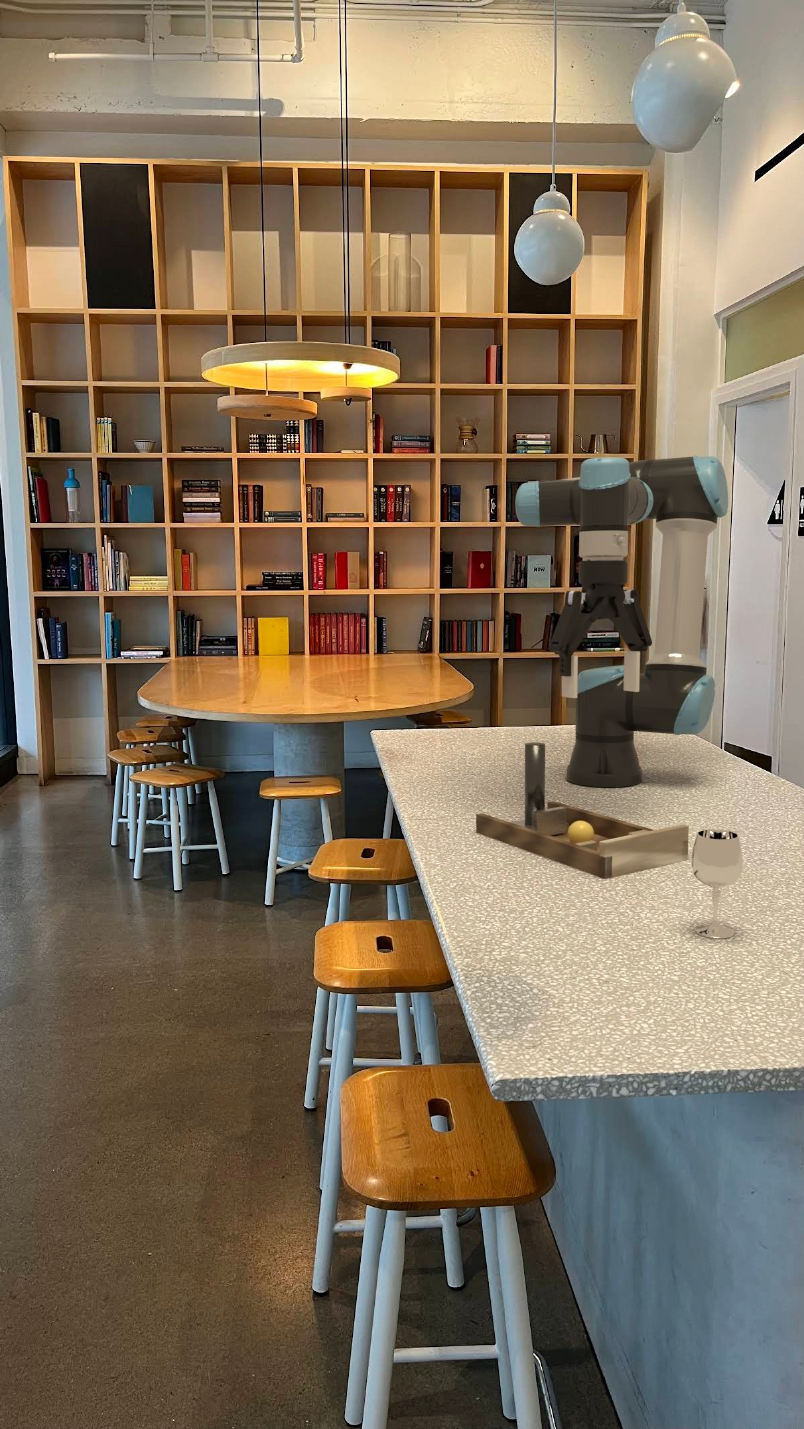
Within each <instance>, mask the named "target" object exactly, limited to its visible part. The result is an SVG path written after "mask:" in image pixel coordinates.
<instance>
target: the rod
mask: <svg viewBox="0 0 804 1429" xmlns="http://www.w3.org/2000/svg"><path fill="white" fill-rule="evenodd" d="M509 822H510V823H513V824H516V825H519V826H523V827H526V828H529V829H532V830H535V831H538V832H541V833H544V834H547V835H556V834H561V833H566V830H568V823H566V808H565V807H562V806H561V807H556V808H550V809H547V808H546V744H545V743H544V742H536V741H535V742H526V743H524V819H520V820H515V821H509Z"/></svg>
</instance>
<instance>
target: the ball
mask: <svg viewBox="0 0 804 1429" xmlns="http://www.w3.org/2000/svg"><path fill="white" fill-rule="evenodd" d="M593 838H594V830H593V828H592V826H591V825H590V824H589V823H587V822H585V821H576V822H574V823H573V824H571V825H570V827H569V829H568V839H569V841H570V842H571V843H574V844H577V843H582V842H587V841H591V840H592V841H593Z"/></svg>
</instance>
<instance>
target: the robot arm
mask: <svg viewBox="0 0 804 1429" xmlns="http://www.w3.org/2000/svg"><path fill="white" fill-rule="evenodd" d="M579 474H580V475H579V476H578V477H571V478H562V479H555V480H546V481H545V480H543V481H539V480H536V481H532V482H525V483H522V484H521V485H520V486H519V488H518V489H517V492H516V495H515V514H516V517H517V520H518V521H519V523H520V524H521V525H522V526H524V527H536V528H541V527H557V526H559V527H561V526H579V538H578V540H579V542H578V546H579V547H578V557H579V558H582V560H581V561H580V562H579V563H578V583H579V584H580V585H581V591H580V590H567V591H566V592H565V594H564V595H565V596H564V604H563V608H562V609H561V612H560V615H559V618H558V622H557V624H556V627H555V630H554V631H553V635H552V637H551V640H550V642H549V645H548V650H549V651H550V652H553V653H554V655H558V657H559V660H558V661H559V663H558V664H559V668H558V669H559V676H560V677H561V697H563V698H570V699H575V742H574V746H573V750H572V753H571V756H570V759H569V760H570V761H569V764H568V765H567V766H566V780H567V782H570V783H572V784H575V785H580V786H587V787H594V788H595V787H597V788H622V787H628V786H634V785H638V784H640V783H642V782H643V769H642V766H640V763H639V762H640V761H639V757H638V754H637V753H638V752H637V750H636V747H635V740H634V739H635V736H634V734H635V732H638V733H639V732H640V733H651V734H669V735H676V736H680V735H692V736H693V735H697V734H699V733H702V731H704V729H706V726H707V724H708V722H709V720H710V717H711V714H712V712H713V707H714V700H715V696H716V695H715V694H716V691H715V687H716V681H715V678H714V677H713V676H711V675H710V674H707V672H708V671H707V668H708V666H707V665H706V664H705V662H703V661H702V659H701V657H700V652H701V651H700V650H701V639H702V638H701V637H702V625H703V624H702V623H703V610H704V596H705V585H706V584H705V583H706V582H705V581H706V569H707V568H706V567H707V558H708V557H707V554H708V542H709V541H708V540H709V539H708V538H709V535H710V534H711V533H712V532H714V531H715V530H716V529H717V527H718V518H720V519H721V518H722V517H725V516H726V515H727V514H728V508H729V491H728V490H729V489H728V482H727V477H726V472H725V469H724V467H723V464H722V463H721V461H720V459H718V457H715V456H712V455H711V456H698V455H693V456H683V457H673V458H657V459H656V458H655V459H643V460H642V459H641V460H637V461H636V460H635V461H631V462H629V460H627V459H626V458H624V457H613V456H612V457H611V456H609V457H608V456H607V457H606V456H605V457H593V458H588V459H586V460H584V461H582V463H581V465H580V473H579ZM644 520H655V527H656V528H657V530H658V531H659V532H660V534H662V538H661V539H662V540H661V541H662V544H661V554H660V555H661V556H660V567H659V569H660V570H659V581H658V583H659V584H658V597H657V610H656V626H655V637H654V638H655V639H654V652H653V653H654V654H653V655H652V657H651V658H650V659H649V660H647V662H645V665H644V666H645V668H644V672H642V673H641V672H640V671H642V666H643V665H642V664H643V663H642V662H643V660H642V659H643V652H646V651H648V649H649V647H651V646H652V645H653V640H652V636H651V635H650V632H649V628H648V624H647V622H646V618H645V616H644V612H643V610H642V607H641V604H640V592H639V590H638V589H624V586H625V585H626V584H627V583H628V572H629V570H628V568H629V567H628V566H629V565H628V564H629V563H628V562H627V560H624V558H626V557H627V556H628V554H629V552H628V551H629V550H628V548H629V547H628V546H629V542H628V541H629V525H630V526H631V525H632V526H633V525H635V524H639V523H640V522H642V521H644ZM604 619H608V620H610V621H611V622H612V624H613V625H614V627H615V628H616V630H617V633H618V634H619V635H620V637H621V639H622V640H623V642H624V643H625V645H626V647H627V648H628V650H624V655H623V656H624V658H623V664H622V665H613V666H605V667H603V666H602V667H597V668H590V669H586V670H582V671H581V672H579V674H578V671H579V670H578V667H579V664H578V662H579V661H578V660H579V656H578V655H574V653H575V652H576V650H577V648H578V647H579V645H580V644H581V642H582V641H583V640H584V638H585V636H586V634H587V632H588V630H589V629H590V627H591V626H592V624H593V623H595V622H596V621H598V620H604Z"/></svg>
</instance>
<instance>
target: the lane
mask: <svg viewBox="0 0 804 1429" xmlns="http://www.w3.org/2000/svg"><path fill="white" fill-rule="evenodd" d="M561 806H562V807H565V808H566V823H568V829H569V827H570V825H571V824H573V823H574V822H576V821H585V822H587V823H589V824H590V825H591V826H592V828H593V830H594V838H593V841H592V840H591V841H587V842H582V843H577V844H574V843H571V842H570V841H569V839H568V830H566V833H561V834H556V835H547V834H544V833H541V832H538V831H535V830H532V829H529V828H526V827H523V826H519V825H516V824H513V823H510V822H511V821H507V820H504V819H500V818H498V817H495V816H492V815H489V814H485V813H482V812H481V813H480V812H479V813H476V814H475V831H476V832H475V833H476V834H478V835H482V836H484V837H487V838H491V839H492V840H496V841H497V842H502V843H504V844H507V845H510V846H512V847H514V848H518V849H521V850H523V851H526V852H529V853H531V854H533V855H538V856H540V857H543V858H545V859H548V860H550V861H554V862H557V863H559V864H562V865H564V866H568V867H570V868H572V869H576V870H577V871H581V872H584V873H587V874H589V875H593V876H595V877H597V878H598V877H599V878H601V879H604V880H608V879H612V878H616V877H620V876H625V875H629V874H634V873H637V872H643V871H646V870H651V869H655V868H659V867H663V866H668V865H673V864H676V863H677V864H678V863H681V862H685V861H688V860H689V829H690V828H689V825H686V824H678V825H673V826H669V827H664V828H657V829H652V828H649V827H645V826H642V825H638V824H635V823H632V822H629V821H625V820H622V819H617V818H614V817H610V816H607V815H603V814H600V813H598V812H593V811H590V810H586V809H582V808H578V807H575V806H572V805H568V804H565V803H562V802H558V801H554V800H550V801H547V808H546V809H550V808H556V807H561Z"/></svg>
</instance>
